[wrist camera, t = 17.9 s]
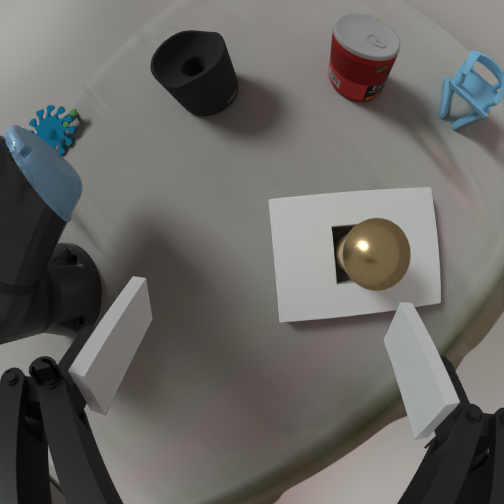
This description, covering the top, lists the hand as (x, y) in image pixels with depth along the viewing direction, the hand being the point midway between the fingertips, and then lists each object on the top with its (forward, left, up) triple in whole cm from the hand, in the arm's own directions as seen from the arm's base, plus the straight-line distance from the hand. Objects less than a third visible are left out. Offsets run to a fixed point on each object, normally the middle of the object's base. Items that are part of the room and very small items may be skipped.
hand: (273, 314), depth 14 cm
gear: (-37, +28, -22) cm, 51 cm away
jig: (+9, +2, -21) cm, 23 cm away
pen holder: (-8, +27, -22) cm, 36 cm away
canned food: (+13, +26, -22) cm, 36 cm away
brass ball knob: (+8, +2, -21) cm, 23 cm away
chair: (+29, +22, -22) cm, 42 cm away
